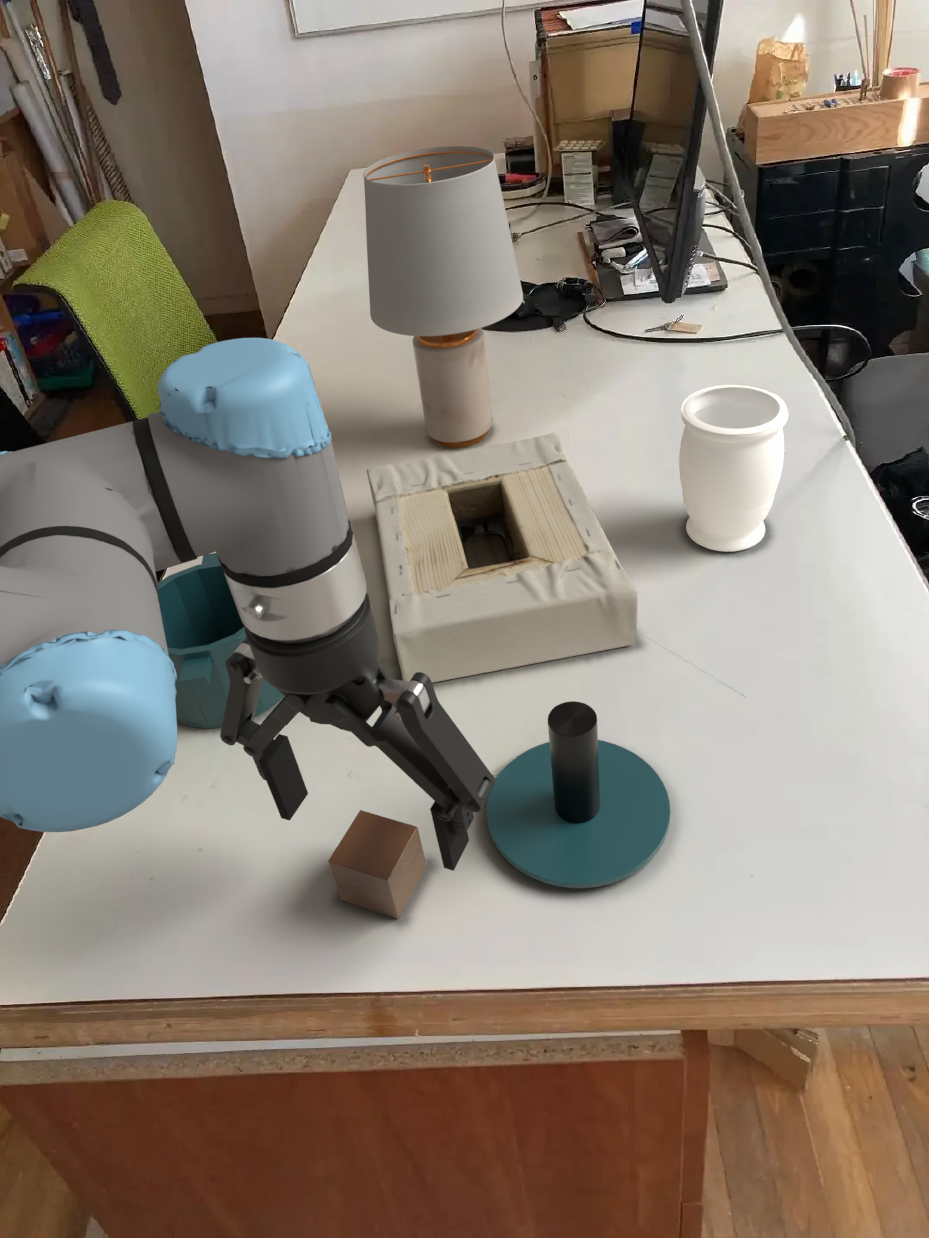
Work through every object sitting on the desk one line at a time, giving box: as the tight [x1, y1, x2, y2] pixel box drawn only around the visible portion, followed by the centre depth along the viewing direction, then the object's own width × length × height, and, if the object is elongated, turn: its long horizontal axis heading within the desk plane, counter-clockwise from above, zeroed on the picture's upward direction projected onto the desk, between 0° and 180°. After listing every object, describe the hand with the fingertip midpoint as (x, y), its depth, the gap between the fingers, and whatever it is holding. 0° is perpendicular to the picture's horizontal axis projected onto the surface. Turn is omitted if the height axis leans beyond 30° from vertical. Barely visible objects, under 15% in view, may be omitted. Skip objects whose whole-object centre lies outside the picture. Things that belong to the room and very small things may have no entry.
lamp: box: [362, 145, 524, 449], centre depth 115 cm, size 19×19×34 cm
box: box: [366, 432, 638, 684], centre depth 99 cm, size 23×8×32 cm
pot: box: [157, 552, 285, 729], centre depth 90 cm, size 14×19×10 cm
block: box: [327, 809, 428, 920], centre depth 71 cm, size 5×5×5 cm
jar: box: [678, 384, 789, 553], centre depth 97 cm, size 11×10×15 cm
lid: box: [486, 700, 671, 889], centre depth 72 cm, size 15×15×11 cm
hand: (372, 829), depth 68 cm, fingers open, 13 cm apart
